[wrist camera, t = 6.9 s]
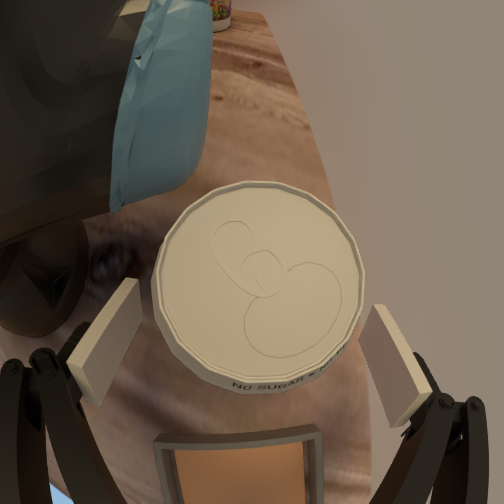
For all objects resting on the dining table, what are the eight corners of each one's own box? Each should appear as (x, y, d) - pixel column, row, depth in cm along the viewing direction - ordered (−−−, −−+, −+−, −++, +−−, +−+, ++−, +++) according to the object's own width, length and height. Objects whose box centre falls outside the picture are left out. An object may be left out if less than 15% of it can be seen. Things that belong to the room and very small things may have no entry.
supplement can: (311, 324, 23) (416, 282, 9) (238, 387, 21) (249, 451, 7) (250, 256, 25) (273, 136, 11) (176, 313, 23) (97, 256, 8)
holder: (316, 526, 15) (322, 538, 13) (182, 536, 14) (179, 549, 12) (313, 423, 20) (321, 430, 18) (160, 433, 19) (152, 441, 16)
